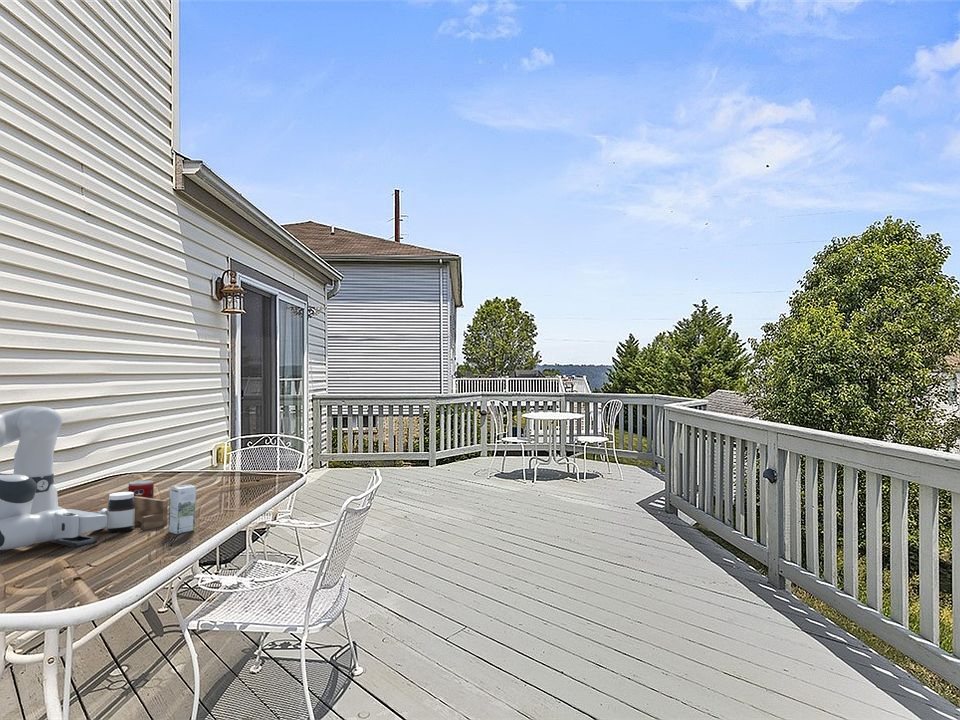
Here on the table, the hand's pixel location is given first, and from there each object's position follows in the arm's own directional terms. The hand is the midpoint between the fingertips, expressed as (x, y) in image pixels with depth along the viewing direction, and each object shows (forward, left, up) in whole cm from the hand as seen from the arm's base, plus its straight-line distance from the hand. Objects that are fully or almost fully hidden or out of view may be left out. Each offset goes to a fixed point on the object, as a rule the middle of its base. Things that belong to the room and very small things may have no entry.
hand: (103, 514), depth 177 cm
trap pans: (0, -10, -6) cm, 12 cm away
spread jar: (-1, +4, -6) cm, 7 cm away
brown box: (0, +12, -6) cm, 13 cm away
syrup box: (+21, +12, -6) cm, 25 cm away
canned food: (-17, +24, -6) cm, 30 cm away
